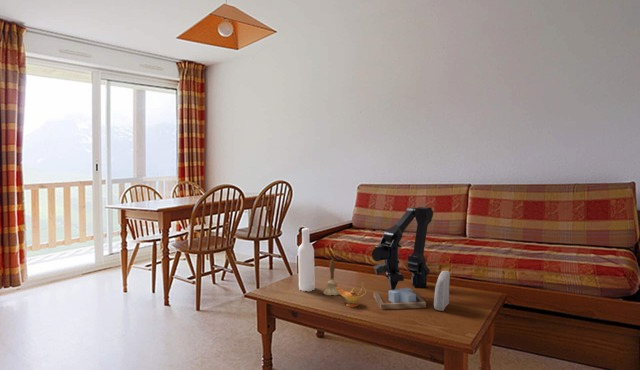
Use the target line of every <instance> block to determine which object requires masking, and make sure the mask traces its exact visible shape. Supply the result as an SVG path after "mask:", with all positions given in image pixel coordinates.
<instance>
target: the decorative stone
mask: <svg viewBox="0 0 640 370" xmlns="http://www.w3.org/2000/svg"><path fill="white" fill-rule="evenodd" d="M450 276H451V273H450V271H449V270H442V271H441V272H440V273H439V275H438V278H437V280H436V284H435V287H434V297H433V298H434V299H433V307H434V310H436V311H440V312H444V310H445V309H446V308H447V306H448V305H449V304H450V282H451V281H450V279H451V277H450Z"/></svg>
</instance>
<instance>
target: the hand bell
mask: <svg viewBox="0 0 640 370" xmlns="http://www.w3.org/2000/svg"><path fill="white" fill-rule="evenodd" d="M328 267H329V272H330V277H329V278H330V279H329V280H328V281H327V284H326V288H325V290H324V291H323V294H324V295H326V296H331V295H334V296H338V295H341V294H340V293H339V292H338V291H337V290H336V289H335V287H333V286H332V285H336V286H338V282H337V280H335V269H336V265H335V261H334V259H330V262H329V266H328Z"/></svg>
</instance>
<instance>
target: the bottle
mask: <svg viewBox="0 0 640 370" xmlns="http://www.w3.org/2000/svg"><path fill="white" fill-rule="evenodd" d="M310 232H311V231H310V228H307V227H305V228H302V229H301V244H300V245H299V246H298V249H297V258H298V263H297V264H298V290H299V291H300V290H302V291H301V292H305V291H307V292H312V290H313V291H314V290H315V289H316V282H315V281H316V279H315V277H316V276H315V249H314V246H313V244H312V243H310Z"/></svg>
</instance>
